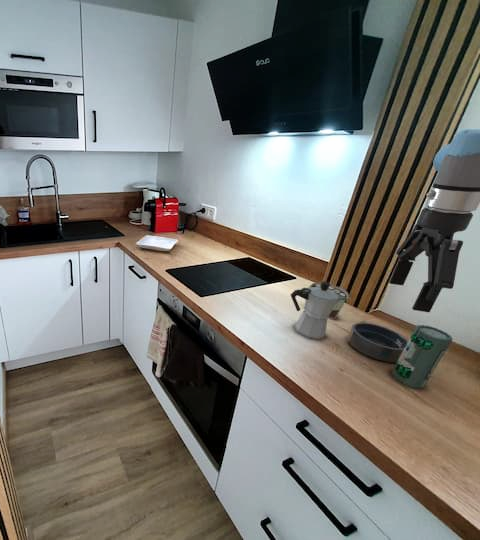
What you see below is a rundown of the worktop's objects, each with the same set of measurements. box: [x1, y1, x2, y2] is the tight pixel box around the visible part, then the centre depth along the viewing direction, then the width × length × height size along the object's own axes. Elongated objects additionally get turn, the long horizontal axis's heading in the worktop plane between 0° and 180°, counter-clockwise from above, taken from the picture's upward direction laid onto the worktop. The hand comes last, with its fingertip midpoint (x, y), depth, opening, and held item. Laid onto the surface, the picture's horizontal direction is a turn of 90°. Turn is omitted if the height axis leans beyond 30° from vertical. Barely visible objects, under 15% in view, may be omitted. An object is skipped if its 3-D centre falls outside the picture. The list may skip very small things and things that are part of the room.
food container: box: [309, 282, 350, 321], centre depth 105 cm, size 12×6×10 cm, turn 34°
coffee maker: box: [290, 281, 345, 341], centre depth 91 cm, size 15×9×18 cm, turn 76°
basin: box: [346, 322, 409, 363], centre depth 86 cm, size 13×13×5 cm
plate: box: [135, 234, 180, 252], centre depth 171 cm, size 21×21×3 cm
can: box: [391, 324, 453, 389], centre depth 72 cm, size 6×6×15 cm
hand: (407, 296), depth 69 cm, fingers open, 13 cm apart
